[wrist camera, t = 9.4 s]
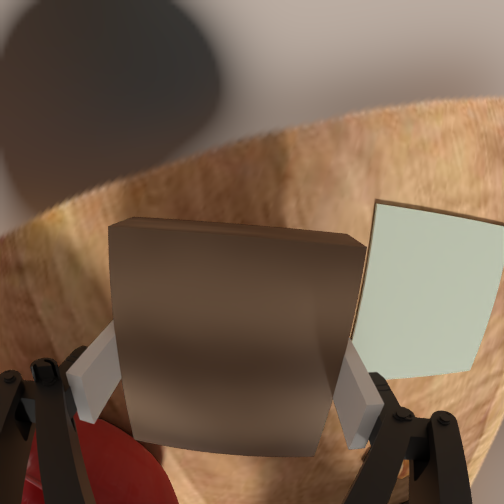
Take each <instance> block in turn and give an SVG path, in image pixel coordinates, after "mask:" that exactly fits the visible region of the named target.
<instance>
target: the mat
mask: <svg viewBox="0 0 504 504" xmlns="http://www.w3.org/2000/svg"><path fill="white" fill-rule="evenodd" d="M503 266H504V226H500V225H495V224H490V223H485V222H481V221H476V220H471V219H466V218H460V217H455V216H450V215H444V214H439V213H433V212H427V211H421V210H415V209H409V208H403V207H396V206H390V205H383V204H376V206H375V214H374V222H373V229H372V236H371V243H370V249H369V255H368V261H367V267H366V273H365V278H364V284H363V289H362V294H361V299H360V304H359V308H358V313H357V318H356V322H355V327H354V331H353V335H352V339H351V341H352V343H353V345H354V347H355V349H356V351H357V352H358V354H359V356H360V358H361V360H362V362H363V364H364V366H365V367H366V369H367V371H368V372H378V373H379V374H380V375H381V376H383V377H384V378H385V379H400V378H412V377H422V376H432V375H440V374H448V373H456V372H463V371H469V370H470V369H471V366H472V364H473V362H474V359H475V357H476V354H477V352H478V349H479V346H480V344H481V341H482V338H483V335H484V333H485V330H486V327H487V324H488V321H489V318H490V315H491V311H492V308H493V305H494V301H495V298H496V294H497V291H498V287H499V283H500V279H501V275H502V271H503Z"/></svg>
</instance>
